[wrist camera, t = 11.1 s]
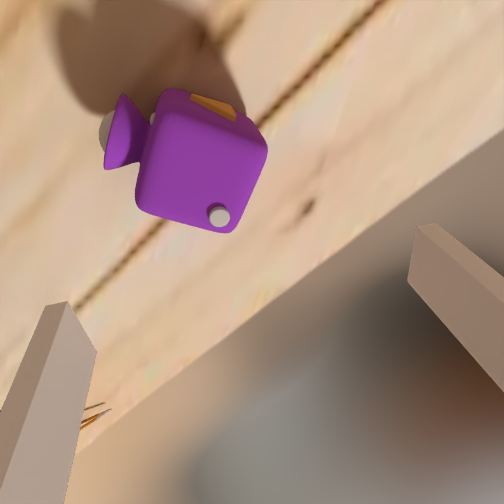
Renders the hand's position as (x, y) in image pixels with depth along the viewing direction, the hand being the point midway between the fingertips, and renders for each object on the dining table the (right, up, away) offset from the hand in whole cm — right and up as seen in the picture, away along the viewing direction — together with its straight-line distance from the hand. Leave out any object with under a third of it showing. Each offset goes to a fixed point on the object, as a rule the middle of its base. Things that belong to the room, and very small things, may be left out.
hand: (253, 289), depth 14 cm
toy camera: (-7, +13, +22) cm, 27 cm away
